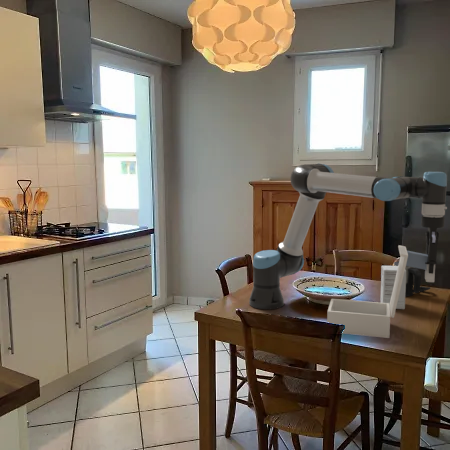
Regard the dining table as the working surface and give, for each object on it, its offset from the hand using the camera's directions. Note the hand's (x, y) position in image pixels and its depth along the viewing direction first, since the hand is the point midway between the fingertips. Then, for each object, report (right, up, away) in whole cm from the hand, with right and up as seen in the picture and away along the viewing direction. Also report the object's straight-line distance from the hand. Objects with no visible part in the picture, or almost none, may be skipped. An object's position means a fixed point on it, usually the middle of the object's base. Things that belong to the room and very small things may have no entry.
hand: (429, 280), depth 169 cm
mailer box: (-23, -19, +10) cm, 31 cm away
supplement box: (-1, -15, +36) cm, 39 cm away
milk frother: (+14, -13, +53) cm, 56 cm away
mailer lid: (-12, 0, +4) cm, 12 cm away
